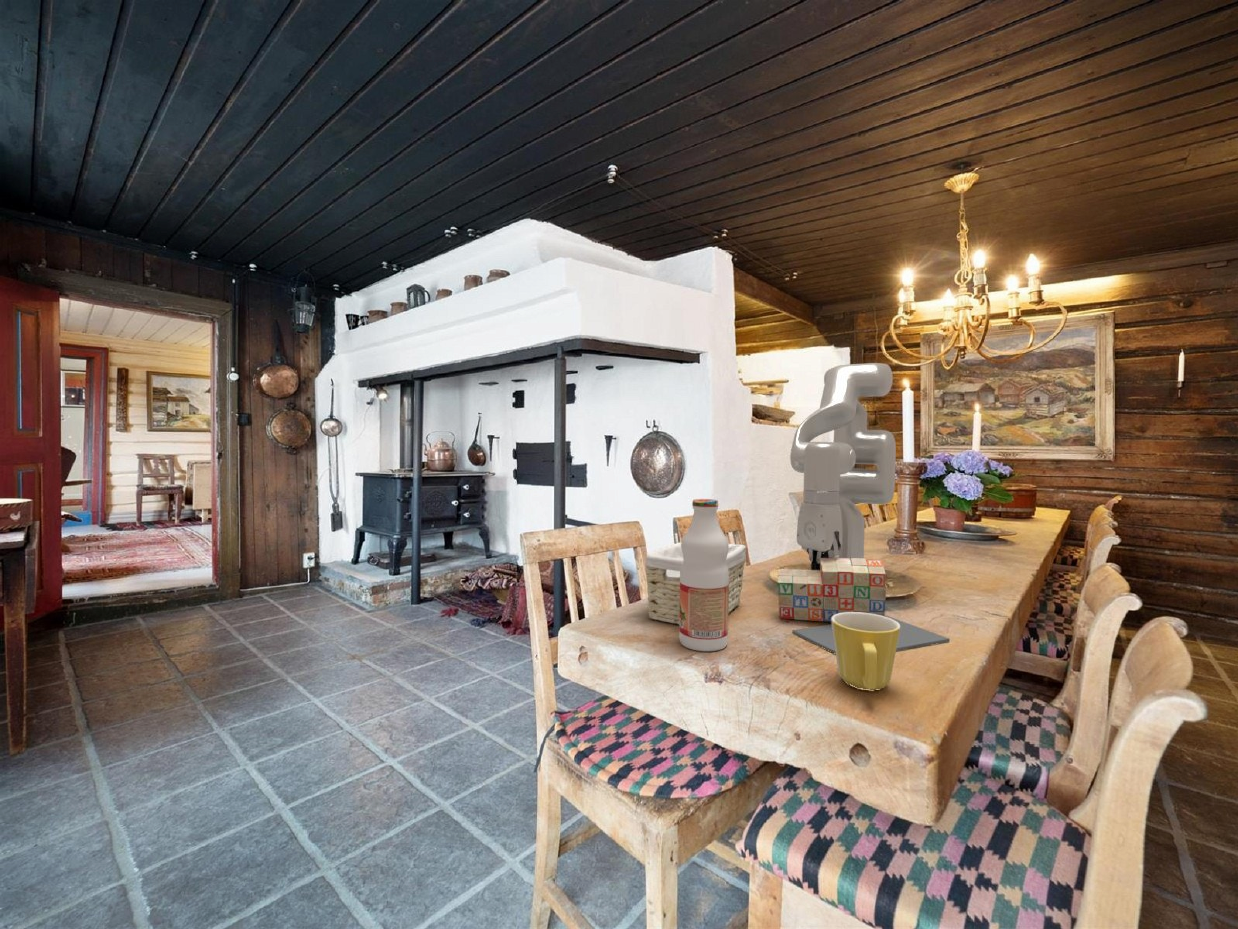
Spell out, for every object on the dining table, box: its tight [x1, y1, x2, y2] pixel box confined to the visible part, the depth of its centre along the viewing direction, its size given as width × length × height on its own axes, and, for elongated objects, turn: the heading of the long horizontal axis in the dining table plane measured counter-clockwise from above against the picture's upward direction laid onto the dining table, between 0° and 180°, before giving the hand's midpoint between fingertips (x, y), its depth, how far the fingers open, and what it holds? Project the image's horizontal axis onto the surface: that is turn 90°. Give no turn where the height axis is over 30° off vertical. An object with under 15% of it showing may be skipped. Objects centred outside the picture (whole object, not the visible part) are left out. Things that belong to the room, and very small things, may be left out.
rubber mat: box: [791, 615, 950, 655], centre depth 112 cm, size 15×26×1 cm, turn 112°
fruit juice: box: [678, 498, 730, 652], centre depth 107 cm, size 9×9×28 cm
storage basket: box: [645, 541, 747, 625], centre depth 127 cm, size 24×16×15 cm
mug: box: [830, 612, 900, 690], centre depth 89 cm, size 14×10×10 cm
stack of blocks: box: [777, 557, 887, 622], centre depth 120 cm, size 21×6×12 cm, turn 72°
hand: (819, 579), depth 125 cm, fingers closed
